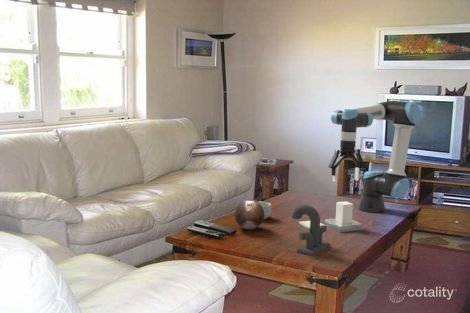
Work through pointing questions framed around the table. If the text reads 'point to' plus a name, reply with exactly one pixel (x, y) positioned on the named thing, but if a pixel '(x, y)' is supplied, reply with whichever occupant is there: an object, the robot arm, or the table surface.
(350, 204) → the peg
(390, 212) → the table surface
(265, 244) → the table surface
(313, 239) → the faucet
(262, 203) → the teacup
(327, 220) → the socket plate
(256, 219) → the bronze metal ball
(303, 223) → the pad
